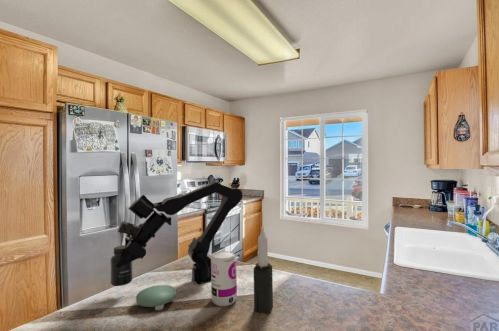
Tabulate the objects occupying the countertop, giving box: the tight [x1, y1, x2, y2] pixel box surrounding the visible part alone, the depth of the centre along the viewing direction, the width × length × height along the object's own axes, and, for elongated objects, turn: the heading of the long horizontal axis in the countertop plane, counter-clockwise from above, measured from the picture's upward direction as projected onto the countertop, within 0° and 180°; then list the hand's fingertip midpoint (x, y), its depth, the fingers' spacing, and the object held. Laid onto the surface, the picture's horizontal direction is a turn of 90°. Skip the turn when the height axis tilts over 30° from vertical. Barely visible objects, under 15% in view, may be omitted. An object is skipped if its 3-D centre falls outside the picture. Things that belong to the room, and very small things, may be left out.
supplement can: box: [210, 250, 238, 307], centre depth 86 cm, size 8×8×15 cm
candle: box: [253, 226, 274, 315], centre depth 81 cm, size 5×5×25 cm
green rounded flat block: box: [135, 284, 177, 311], centre depth 86 cm, size 12×12×3 cm
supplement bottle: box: [110, 244, 134, 287], centre depth 90 cm, size 7×7×12 cm
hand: (117, 263), depth 90 cm, fingers closed on supplement bottle, 7 cm apart
